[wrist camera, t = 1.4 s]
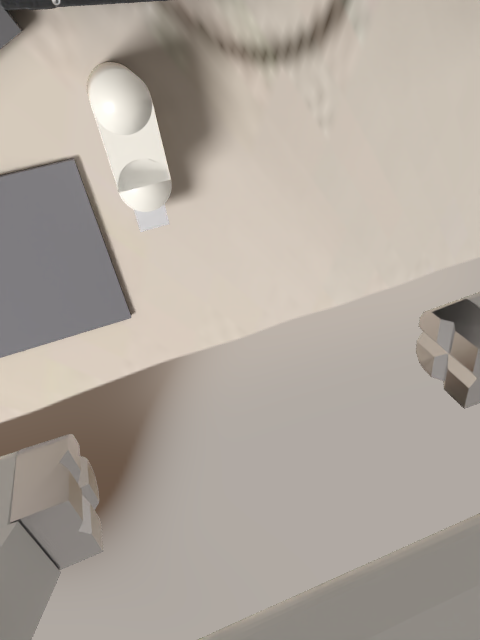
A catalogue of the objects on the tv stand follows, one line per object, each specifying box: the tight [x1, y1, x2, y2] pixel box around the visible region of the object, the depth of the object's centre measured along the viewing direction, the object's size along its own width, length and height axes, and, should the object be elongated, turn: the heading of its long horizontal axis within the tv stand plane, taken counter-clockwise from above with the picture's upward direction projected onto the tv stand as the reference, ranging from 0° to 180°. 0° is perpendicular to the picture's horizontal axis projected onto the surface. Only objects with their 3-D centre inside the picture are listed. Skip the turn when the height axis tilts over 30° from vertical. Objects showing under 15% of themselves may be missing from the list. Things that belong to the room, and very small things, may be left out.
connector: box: [87, 62, 172, 232], centre depth 30 cm, size 4×11×5 cm, turn 9°
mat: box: [0, 158, 131, 358], centre depth 34 cm, size 12×14×1 cm
